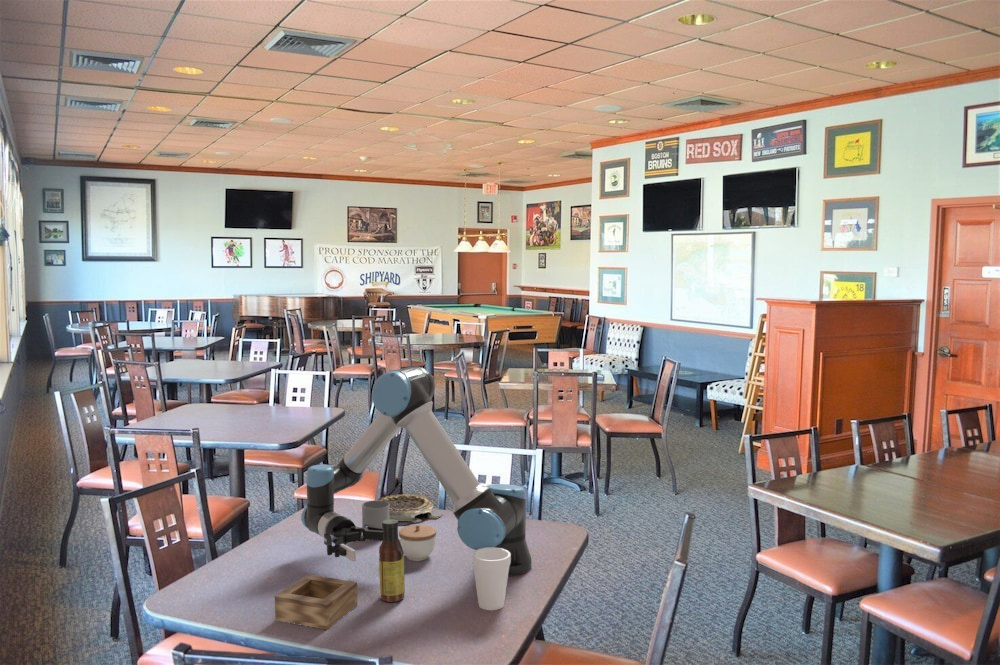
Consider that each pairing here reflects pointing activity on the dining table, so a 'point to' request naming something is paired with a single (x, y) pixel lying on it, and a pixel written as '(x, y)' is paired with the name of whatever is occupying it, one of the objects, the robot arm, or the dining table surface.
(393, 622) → the dining table surface
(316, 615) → the open wooden box
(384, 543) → the sauce bottle
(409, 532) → the lidded jar
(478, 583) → the foam cup
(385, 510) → the cup
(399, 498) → the pie
